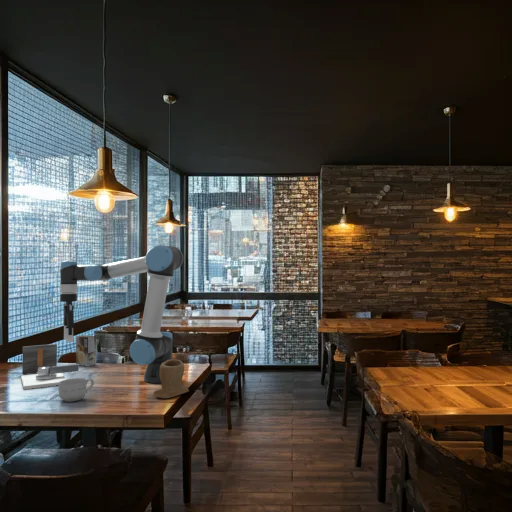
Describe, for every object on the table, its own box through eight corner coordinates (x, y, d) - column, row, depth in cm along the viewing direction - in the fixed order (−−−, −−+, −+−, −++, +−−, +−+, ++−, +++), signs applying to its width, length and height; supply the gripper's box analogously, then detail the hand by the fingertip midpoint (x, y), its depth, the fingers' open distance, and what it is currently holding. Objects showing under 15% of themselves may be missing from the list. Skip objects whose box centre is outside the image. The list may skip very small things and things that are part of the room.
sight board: (56, 371, 238) (57, 344, 239) (22, 374, 230) (22, 347, 231) (56, 370, 240) (56, 343, 240) (22, 374, 232) (22, 346, 232)
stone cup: (167, 402, 181) (168, 364, 182) (149, 397, 189) (149, 361, 189) (196, 394, 193) (196, 358, 193) (177, 389, 200) (177, 355, 201)
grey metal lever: (36, 380, 211) (36, 370, 211) (35, 376, 219) (35, 366, 219) (79, 375, 220) (79, 365, 220) (76, 372, 228) (76, 362, 228)
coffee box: (96, 364, 256) (96, 335, 256) (88, 366, 250) (88, 337, 250) (83, 363, 259) (83, 334, 260) (75, 365, 253) (75, 336, 254)
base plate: (67, 384, 210) (67, 380, 211) (23, 389, 202) (23, 385, 202) (60, 373, 232) (60, 370, 232) (21, 378, 223) (21, 374, 223)
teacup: (59, 405, 178) (59, 384, 178) (57, 398, 188) (57, 378, 188) (96, 400, 185) (96, 380, 185) (92, 394, 194) (92, 375, 194)
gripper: (57, 292, 224) (57, 338, 223) (63, 294, 205) (62, 344, 205) (73, 292, 228) (73, 337, 227) (80, 293, 209) (80, 343, 208)
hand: (68, 340), depth 216 cm, fingers open, 9 cm apart
